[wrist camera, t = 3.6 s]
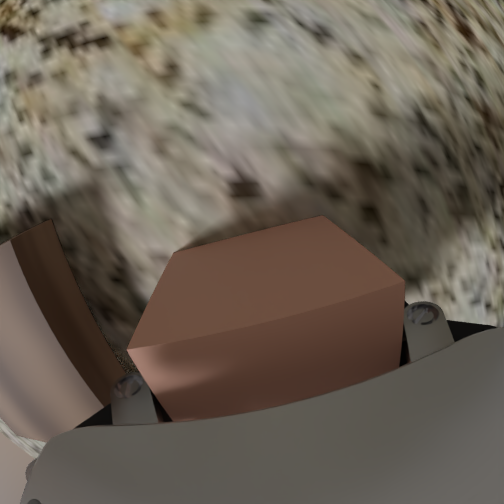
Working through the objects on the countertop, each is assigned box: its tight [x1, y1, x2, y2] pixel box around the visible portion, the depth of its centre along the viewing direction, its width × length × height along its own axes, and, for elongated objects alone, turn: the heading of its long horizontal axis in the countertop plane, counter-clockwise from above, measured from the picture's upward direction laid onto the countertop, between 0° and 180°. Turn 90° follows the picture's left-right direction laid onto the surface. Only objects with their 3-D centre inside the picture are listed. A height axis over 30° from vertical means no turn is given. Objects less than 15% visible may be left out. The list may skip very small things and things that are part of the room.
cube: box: [126, 215, 405, 422], centre depth 9 cm, size 6×6×6 cm
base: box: [0, 219, 126, 442], centre depth 11 cm, size 12×12×3 cm
